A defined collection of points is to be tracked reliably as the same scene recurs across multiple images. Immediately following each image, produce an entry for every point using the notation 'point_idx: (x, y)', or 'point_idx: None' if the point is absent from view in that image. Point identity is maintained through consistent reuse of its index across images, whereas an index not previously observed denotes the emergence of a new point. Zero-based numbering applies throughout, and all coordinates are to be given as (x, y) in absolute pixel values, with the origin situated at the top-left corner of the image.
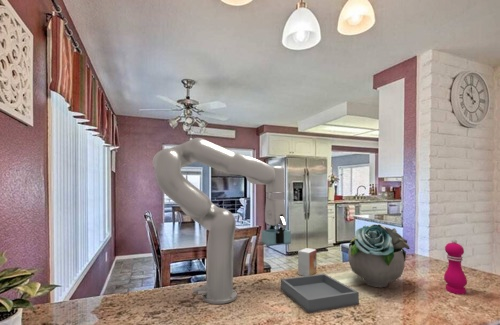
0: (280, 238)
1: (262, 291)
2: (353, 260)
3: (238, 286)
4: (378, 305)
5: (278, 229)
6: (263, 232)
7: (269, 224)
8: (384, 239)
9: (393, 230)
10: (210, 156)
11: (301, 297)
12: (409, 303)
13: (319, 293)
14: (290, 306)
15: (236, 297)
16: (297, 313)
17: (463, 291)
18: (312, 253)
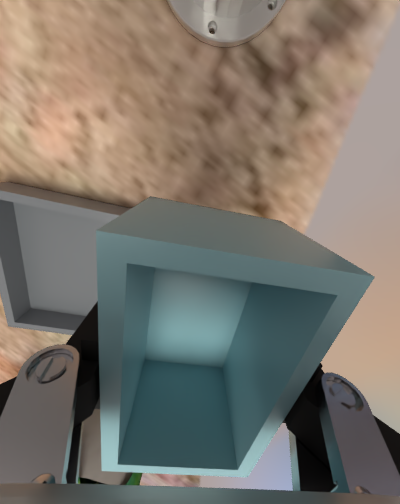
0: (88, 321)
1: (186, 159)
2: (86, 421)
3: (266, 107)
4: (16, 330)
5: (7, 418)
6: (283, 253)
7: (289, 492)
8: None
9: None
10: None
11: (26, 193)
12: (13, 370)
13: (89, 274)
14: (59, 166)
15: (179, 21)
16: (12, 153)
17: None
18: None
